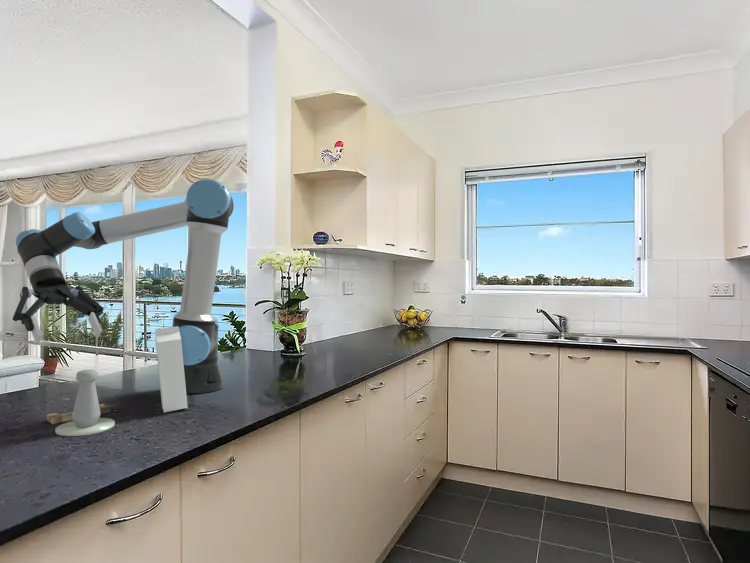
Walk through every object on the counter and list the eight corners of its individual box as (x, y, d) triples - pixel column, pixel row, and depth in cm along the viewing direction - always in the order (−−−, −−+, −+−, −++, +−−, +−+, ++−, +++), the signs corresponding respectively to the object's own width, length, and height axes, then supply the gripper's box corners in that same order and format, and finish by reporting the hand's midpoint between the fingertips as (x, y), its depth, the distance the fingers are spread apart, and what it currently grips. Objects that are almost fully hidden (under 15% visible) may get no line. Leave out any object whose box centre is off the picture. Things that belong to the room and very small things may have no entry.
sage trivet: (122, 419, 118) (122, 417, 118) (102, 435, 106) (102, 432, 106) (70, 420, 117) (70, 418, 117) (44, 437, 105) (44, 434, 105)
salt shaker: (70, 430, 108) (70, 373, 108) (72, 423, 113) (73, 369, 113) (99, 427, 110) (100, 371, 110) (101, 420, 116) (101, 367, 115)
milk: (187, 408, 128) (180, 327, 126) (163, 413, 125) (155, 330, 123) (185, 402, 133) (178, 325, 132) (161, 407, 130) (154, 328, 129)
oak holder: (46, 420, 116) (46, 414, 116) (102, 409, 127) (102, 404, 127) (53, 424, 114) (53, 417, 114) (109, 412, 124) (109, 406, 124)
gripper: (91, 285, 139) (116, 340, 130) (-16, 286, 118) (6, 352, 110) (99, 267, 136) (126, 323, 127) (-9, 265, 115) (14, 331, 107)
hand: (70, 336), depth 118 cm, fingers open, 13 cm apart
